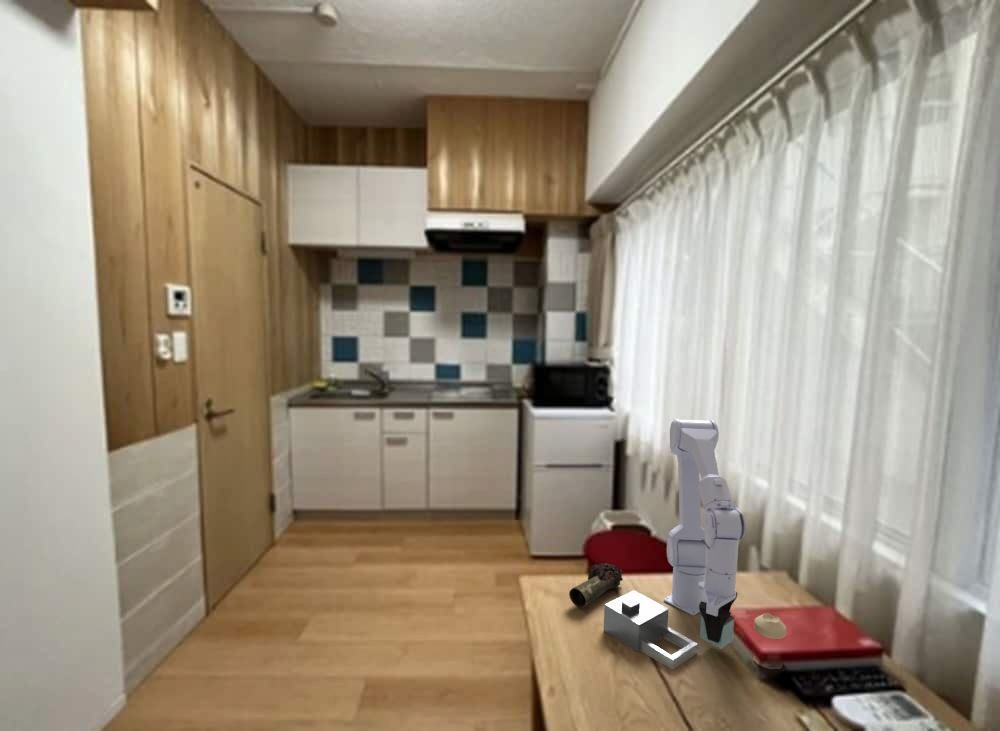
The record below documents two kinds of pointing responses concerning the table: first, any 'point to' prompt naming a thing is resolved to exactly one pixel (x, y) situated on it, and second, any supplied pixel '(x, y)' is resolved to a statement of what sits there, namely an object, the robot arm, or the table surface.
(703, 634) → the mint cube
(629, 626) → the silver box with frame
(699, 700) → the table surface
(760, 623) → the candle
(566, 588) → the table surface
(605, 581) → the olive hollow tube
